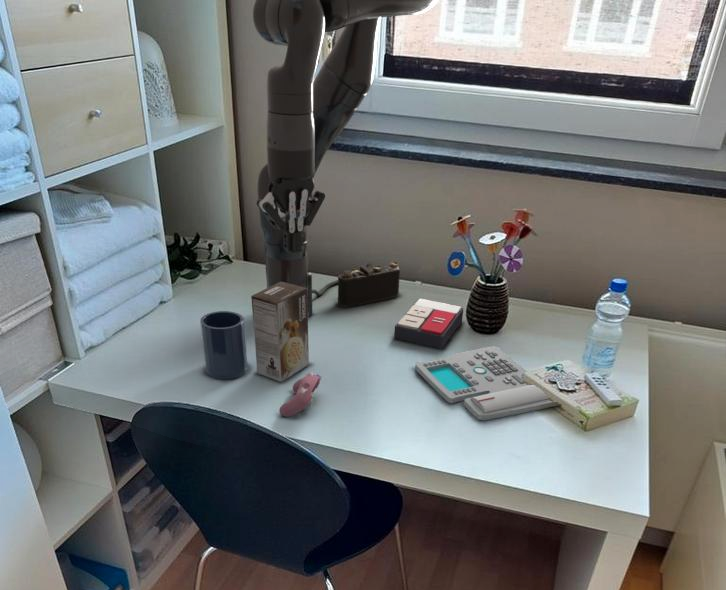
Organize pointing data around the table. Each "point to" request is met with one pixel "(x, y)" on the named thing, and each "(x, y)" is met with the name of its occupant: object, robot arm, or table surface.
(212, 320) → the pen cup
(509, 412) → the office telephone
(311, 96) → the robot arm
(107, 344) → the table surface
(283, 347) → the coffee box
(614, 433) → the table surface
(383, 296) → the camera
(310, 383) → the video game controller
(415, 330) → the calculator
